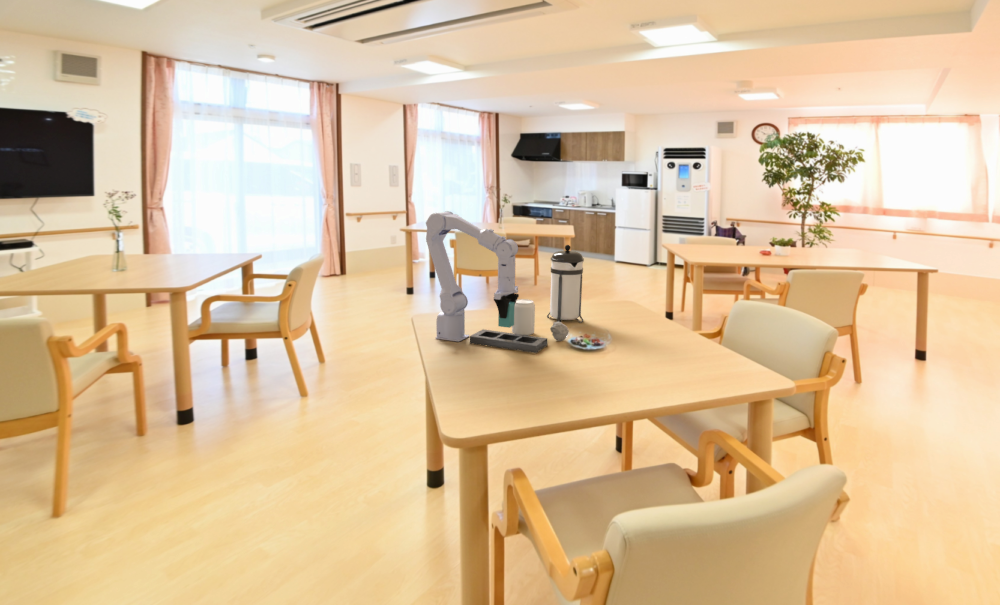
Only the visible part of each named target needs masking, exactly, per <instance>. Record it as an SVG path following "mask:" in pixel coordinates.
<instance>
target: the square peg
mask: <svg viewBox="0 0 1000 605" xmlns="http://www.w3.org/2000/svg"><path fill="white" fill-rule="evenodd" d="M514 305H515V302H511V301H510V303H509V306H508V312H507V317H506V318H500V316H499V315H498V321H497V323H498V324H497V325H498V326H497V327H501V328H502V327H503V328H508V329H509V328H512V326H513V325H514Z"/></svg>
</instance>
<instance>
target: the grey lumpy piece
mask: <svg viewBox="0 0 1000 605" xmlns="http://www.w3.org/2000/svg"><path fill="white" fill-rule="evenodd" d="M550 332H551V333H552V334H551V336H553V338H554V340H555V341H556V342H563V341H564V340H566V339H567V337H568V336H569V335H568V334H569V332H570V331H569V327H568V326H567V325H565V324H563V322H562V321H561V322H556V321H553V323H552V326H551V327H550ZM566 336H567V337H566Z"/></svg>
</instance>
